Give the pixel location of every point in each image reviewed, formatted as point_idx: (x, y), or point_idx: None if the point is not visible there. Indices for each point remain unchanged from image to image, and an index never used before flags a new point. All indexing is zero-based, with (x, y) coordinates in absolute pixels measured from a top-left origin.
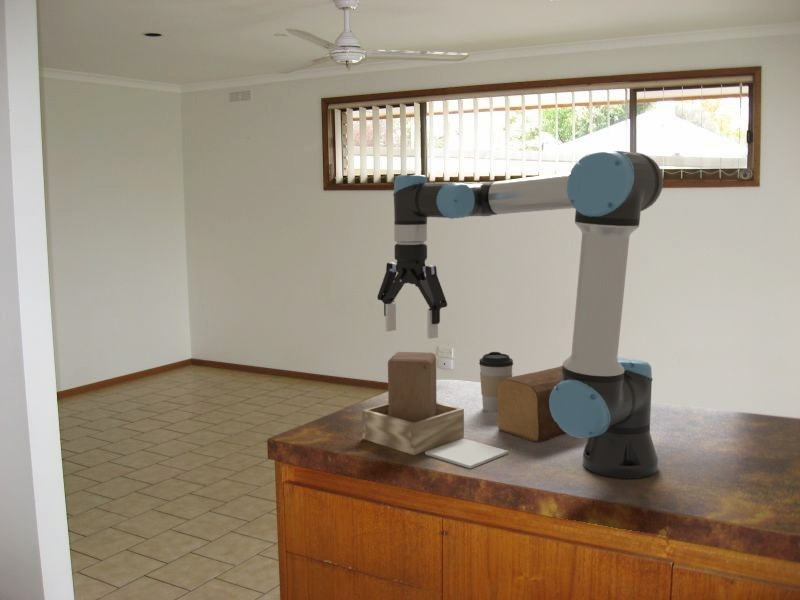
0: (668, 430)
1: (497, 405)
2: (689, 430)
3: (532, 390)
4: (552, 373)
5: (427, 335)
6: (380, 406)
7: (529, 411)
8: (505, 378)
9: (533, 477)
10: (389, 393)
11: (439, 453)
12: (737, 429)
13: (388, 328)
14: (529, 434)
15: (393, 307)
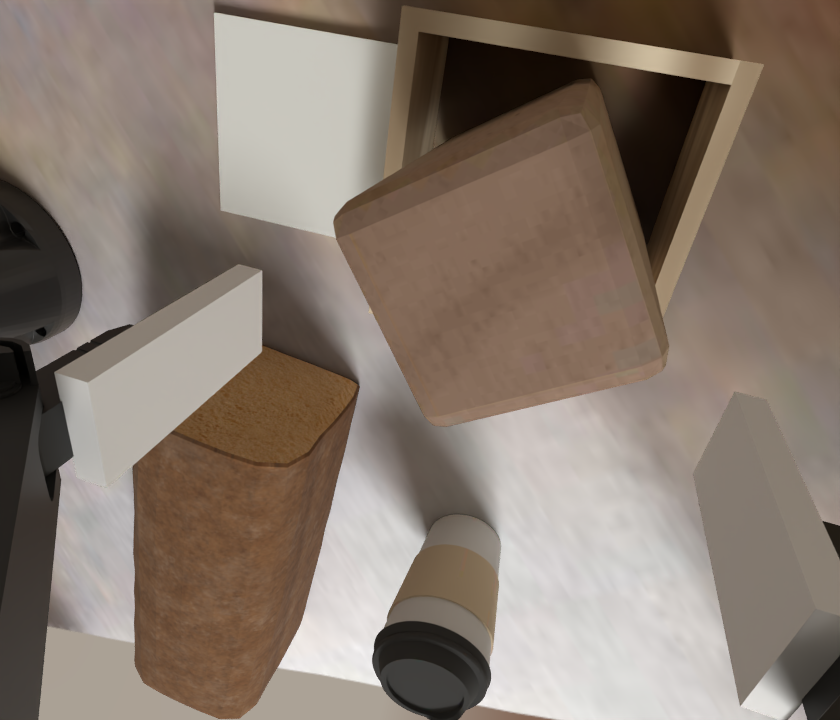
0: (95, 509)
1: (438, 530)
2: (72, 520)
3: None
4: (173, 552)
5: (249, 278)
6: (698, 177)
7: None
8: (394, 600)
9: (68, 63)
10: (583, 90)
11: (356, 62)
12: None
13: (737, 413)
14: None
15: (748, 632)
